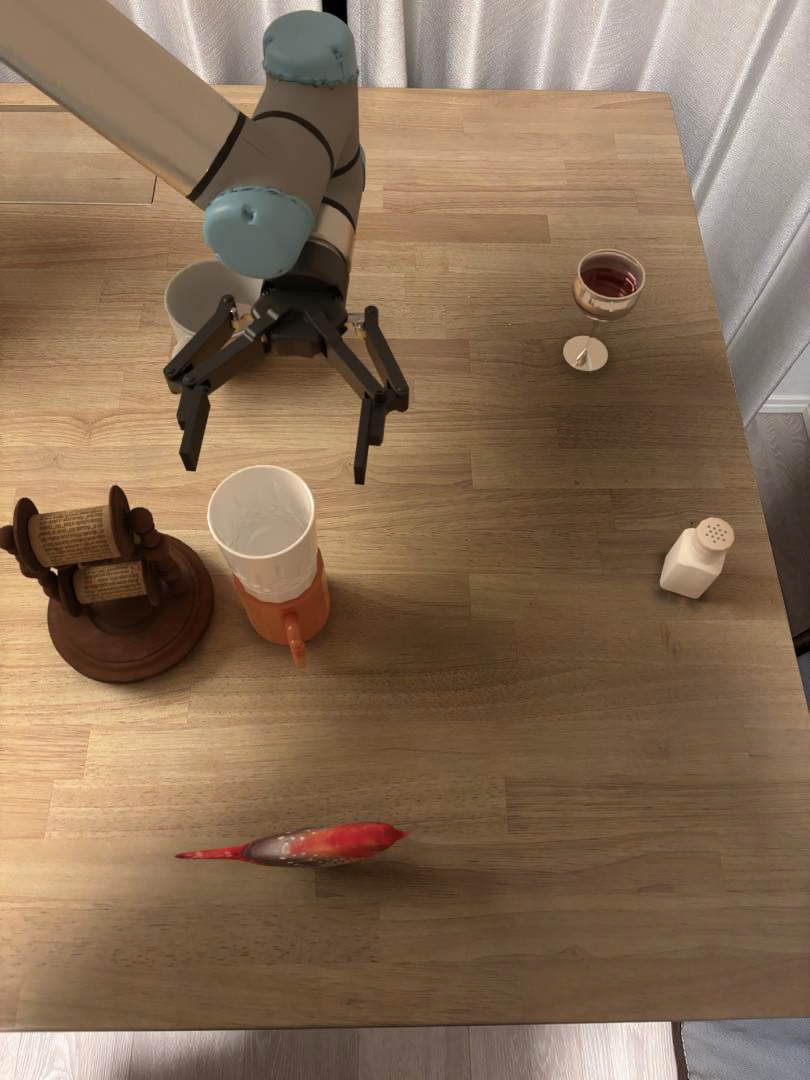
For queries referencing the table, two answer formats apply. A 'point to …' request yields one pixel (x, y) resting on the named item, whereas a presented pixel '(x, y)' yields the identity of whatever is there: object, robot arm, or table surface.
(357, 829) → the decorative bird figurine
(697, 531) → the salt shaker
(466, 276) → the table surface
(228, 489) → the white cup
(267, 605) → the mug
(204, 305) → the teacup
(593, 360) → the wineglass
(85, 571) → the scroll
